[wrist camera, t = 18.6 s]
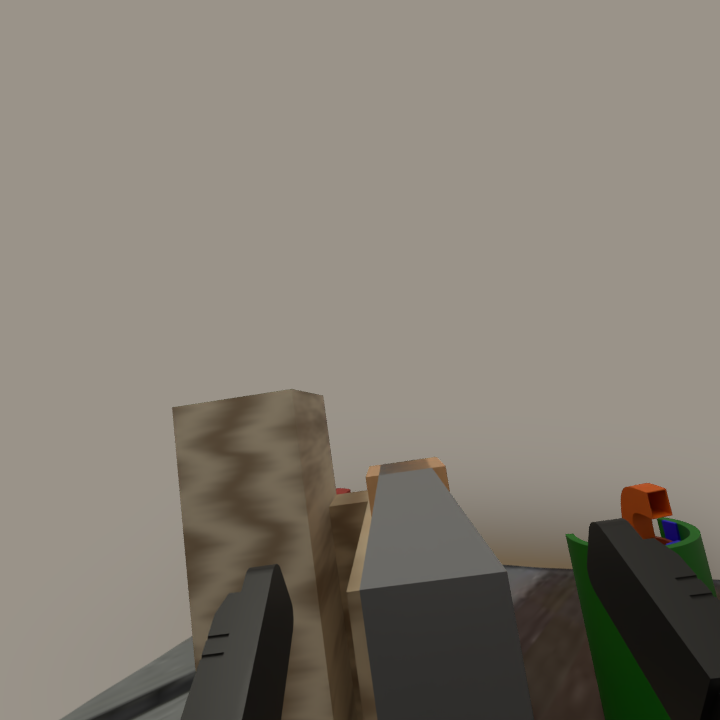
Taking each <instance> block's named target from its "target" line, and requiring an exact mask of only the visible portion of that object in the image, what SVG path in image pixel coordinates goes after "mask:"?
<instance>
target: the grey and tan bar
mask: <svg viewBox="0 0 720 720" xmlns="http://www.w3.org/2000/svg"><path fill="white" fill-rule="evenodd" d="M366 483H367V490H368V497H369V503H370V510H371V517H372V519H371V525H370V531H369V536H368V542H367V548H366V554H365V560H364V566H363V572H362V578H361V584H360V590H359V591H360V598H361V605H362V612H363V619H364V627H365V634H366V641H367V648H368V655H369V662H370V670H371V677H372V684H373V691H374V698H375V706H376V713H377V720H534V717H533V711H532V706H531V701H530V695H529V690H528V684H527V679H526V673H525V668H524V662H523V657H522V651H521V646H520V641H519V635H518V630H517V624H516V619H515V613H514V608H513V602H512V597H511V591H510V586H509V581H508V575H507V571H506V570H505V568H504V567H503V565H502V564H501V563H500V561H499V560H498V558H497V557H496V556H495V554H494V553H493V552H492V550H491V549H490V548H489V546H488V545H487V543H486V542H485V540H484V539H483V538H482V536H481V535H480V534H479V532H478V531H477V529H476V528H475V527H474V525H473V524H472V522H471V521H470V520H469V519H468V517H467V516H466V514H465V513H464V511H463V510H462V509H461V507H460V506H459V505H458V503H457V502H456V500H455V499H454V498H453V496H452V495H451V494H450V490H449V484H448V478H447V472H446V467H445V465H444V464H443V463H442V462H441V461H440V460H439V459H438V458H437V457H432V458H425V459H419V460H411V461H404V462H397V463H391V464H383V465H376V466H370V467H369V470H368V472H367V475H366Z"/></svg>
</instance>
